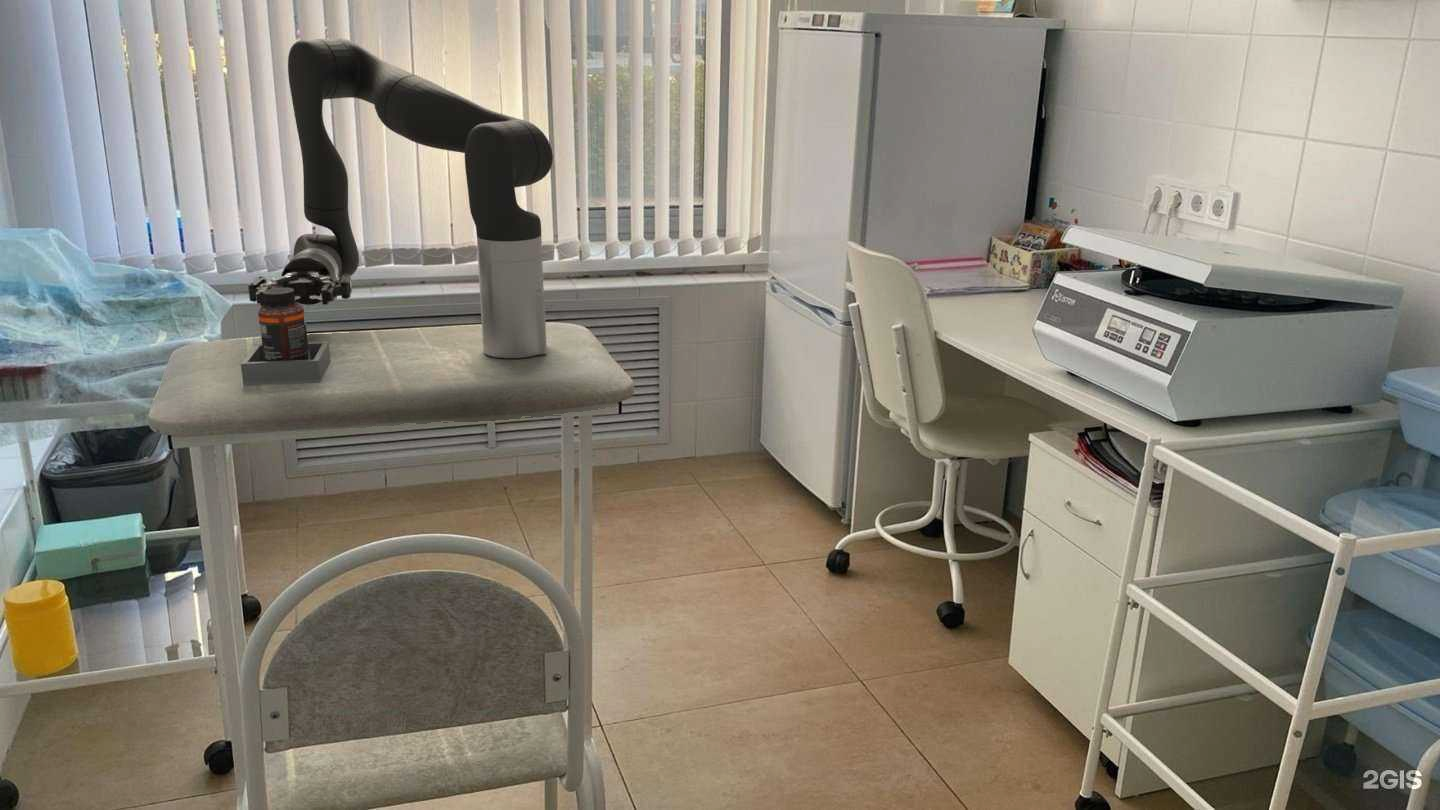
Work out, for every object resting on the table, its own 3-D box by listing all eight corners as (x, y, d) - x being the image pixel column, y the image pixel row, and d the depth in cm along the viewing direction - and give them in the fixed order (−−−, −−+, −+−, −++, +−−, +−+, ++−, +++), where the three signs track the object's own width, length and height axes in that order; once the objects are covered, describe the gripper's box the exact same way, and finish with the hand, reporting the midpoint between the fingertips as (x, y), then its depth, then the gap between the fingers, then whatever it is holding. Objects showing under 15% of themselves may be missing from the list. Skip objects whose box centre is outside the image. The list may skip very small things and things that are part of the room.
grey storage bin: (330, 361, 164) (328, 341, 163) (320, 382, 154) (318, 360, 153) (258, 364, 162) (255, 344, 161) (243, 385, 153) (240, 363, 152)
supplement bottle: (318, 364, 161) (309, 286, 157) (299, 377, 155) (290, 295, 151) (278, 363, 161) (268, 284, 158) (257, 375, 156) (247, 294, 152)
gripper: (260, 252, 177) (238, 274, 162) (356, 250, 179) (342, 271, 164) (266, 300, 179) (244, 325, 164) (360, 297, 182) (347, 322, 167)
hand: (293, 298), depth 164 cm, fingers open, 8 cm apart
